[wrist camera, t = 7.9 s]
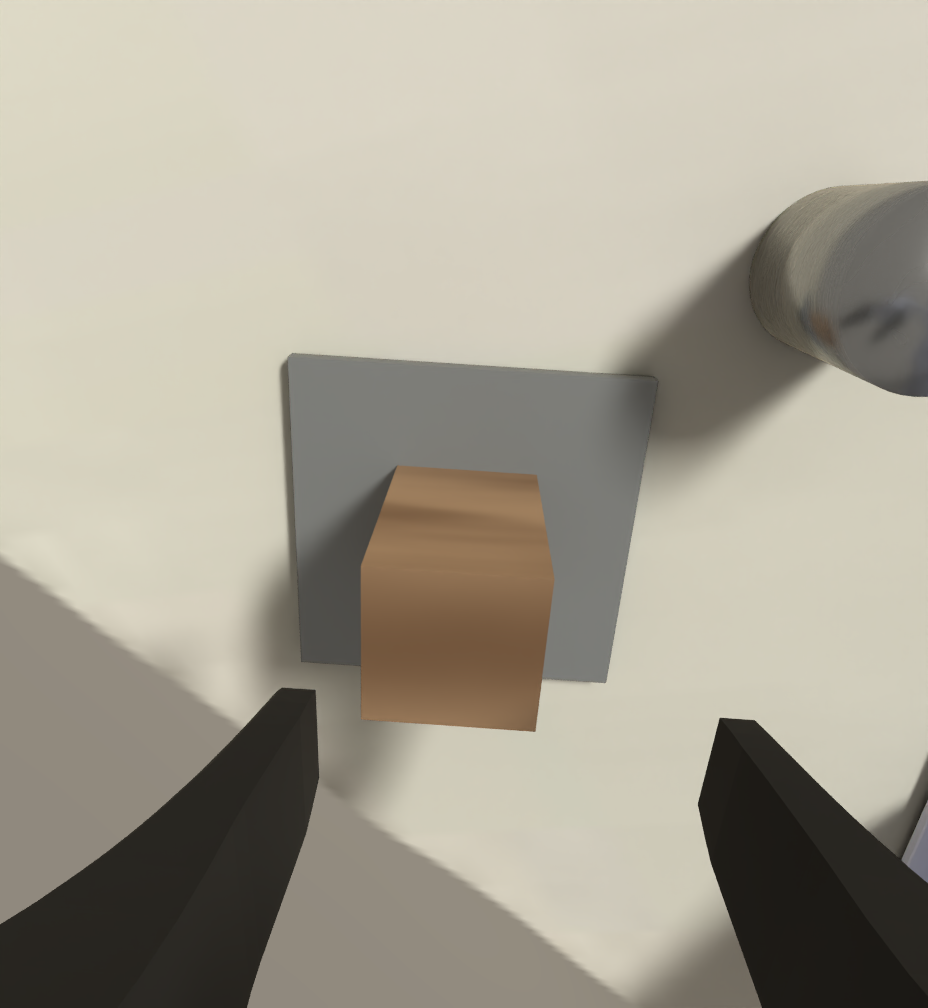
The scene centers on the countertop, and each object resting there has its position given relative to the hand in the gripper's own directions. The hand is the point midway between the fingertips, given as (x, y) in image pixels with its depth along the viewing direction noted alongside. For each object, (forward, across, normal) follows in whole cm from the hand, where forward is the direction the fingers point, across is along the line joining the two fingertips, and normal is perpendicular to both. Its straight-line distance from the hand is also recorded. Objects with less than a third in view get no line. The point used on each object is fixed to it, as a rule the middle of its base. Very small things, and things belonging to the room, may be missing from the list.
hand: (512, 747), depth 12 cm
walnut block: (+9, +1, 0) cm, 9 cm away
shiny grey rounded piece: (+9, -8, -8) cm, 14 cm away
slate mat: (+9, +1, 0) cm, 9 cm away
